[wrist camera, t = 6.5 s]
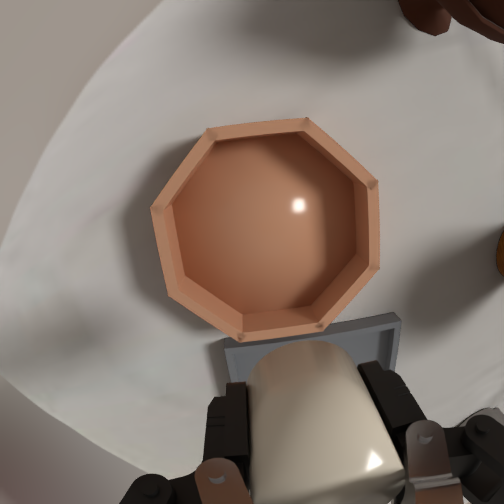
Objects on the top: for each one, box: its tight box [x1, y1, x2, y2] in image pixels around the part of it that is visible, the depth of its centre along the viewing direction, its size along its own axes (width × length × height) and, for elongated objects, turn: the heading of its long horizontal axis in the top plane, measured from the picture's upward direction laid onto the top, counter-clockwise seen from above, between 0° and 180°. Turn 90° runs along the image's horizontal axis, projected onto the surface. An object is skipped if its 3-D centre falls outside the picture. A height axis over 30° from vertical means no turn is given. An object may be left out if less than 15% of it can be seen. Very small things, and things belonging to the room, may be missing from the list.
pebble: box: [247, 340, 406, 504], centre depth 9 cm, size 4×4×6 cm
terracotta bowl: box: [150, 117, 380, 343], centre depth 22 cm, size 15×15×4 cm
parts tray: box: [224, 312, 401, 384], centre depth 28 cm, size 15×15×2 cm
